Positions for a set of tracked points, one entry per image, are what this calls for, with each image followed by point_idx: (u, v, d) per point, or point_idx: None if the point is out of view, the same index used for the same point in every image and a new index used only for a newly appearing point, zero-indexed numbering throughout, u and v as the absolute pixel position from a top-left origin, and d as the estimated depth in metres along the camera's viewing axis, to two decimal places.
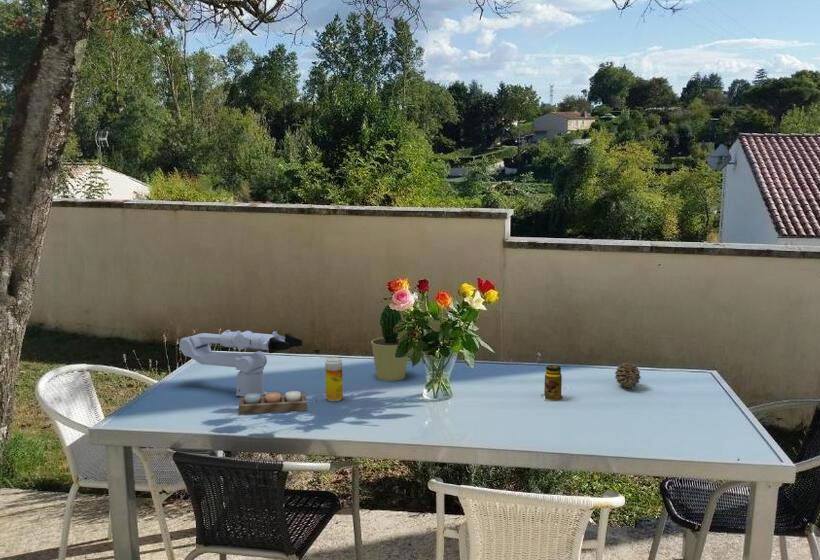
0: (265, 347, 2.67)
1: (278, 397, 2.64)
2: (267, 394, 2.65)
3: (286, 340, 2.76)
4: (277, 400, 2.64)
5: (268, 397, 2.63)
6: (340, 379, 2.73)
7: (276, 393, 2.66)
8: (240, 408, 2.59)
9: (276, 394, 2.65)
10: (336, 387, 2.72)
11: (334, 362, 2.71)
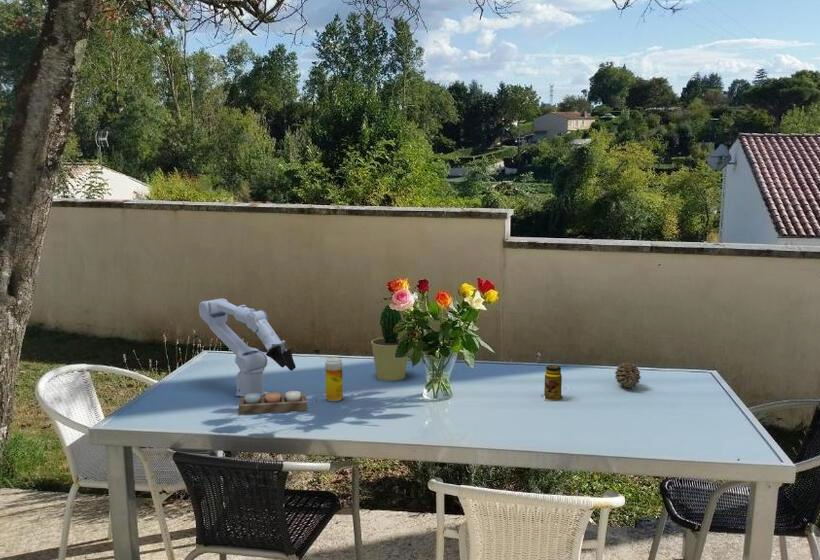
0: (268, 348, 2.63)
1: (278, 397, 2.64)
2: (267, 394, 2.65)
3: (284, 354, 2.73)
4: (277, 400, 2.64)
5: (268, 397, 2.63)
6: (340, 379, 2.73)
7: (276, 393, 2.66)
8: (240, 408, 2.59)
9: (276, 394, 2.65)
10: (336, 387, 2.72)
11: (334, 362, 2.71)
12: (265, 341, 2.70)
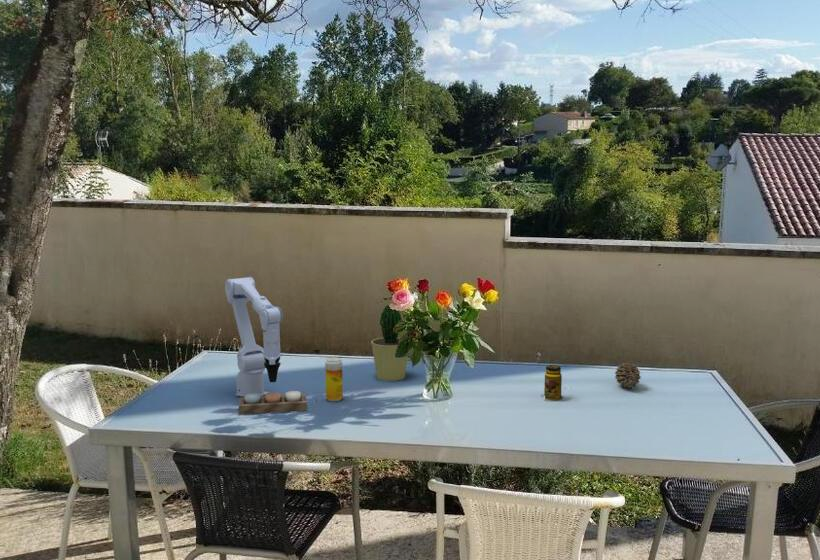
0: (271, 363, 2.60)
1: (278, 397, 2.64)
2: (267, 394, 2.65)
3: None
4: (277, 400, 2.64)
5: (268, 397, 2.63)
6: (340, 379, 2.73)
7: (276, 393, 2.66)
8: (240, 408, 2.59)
9: (276, 394, 2.65)
10: (336, 387, 2.72)
11: (334, 362, 2.71)
12: (268, 347, 2.63)
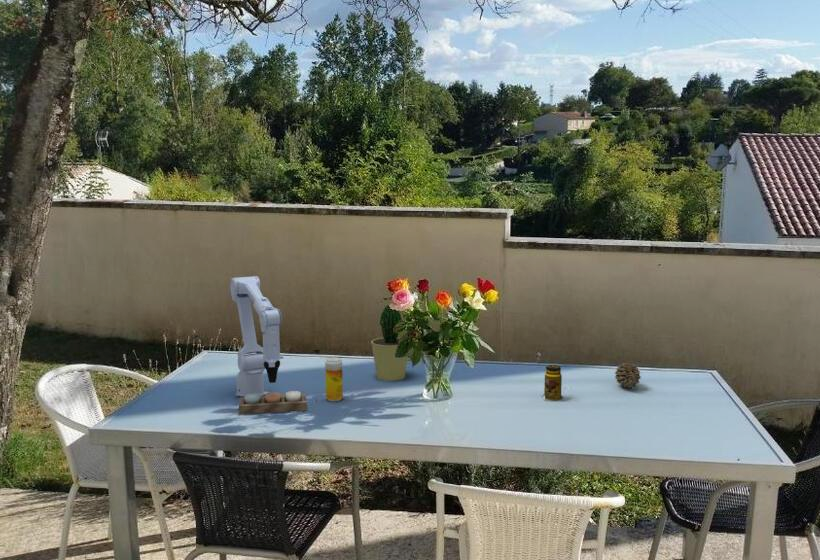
0: (270, 366, 2.56)
1: (278, 397, 2.64)
2: (267, 394, 2.65)
3: None
4: (277, 400, 2.64)
5: (268, 397, 2.63)
6: (340, 379, 2.73)
7: (276, 393, 2.66)
8: (240, 408, 2.59)
9: (276, 394, 2.65)
10: (336, 387, 2.72)
11: (334, 362, 2.71)
12: (268, 349, 2.60)
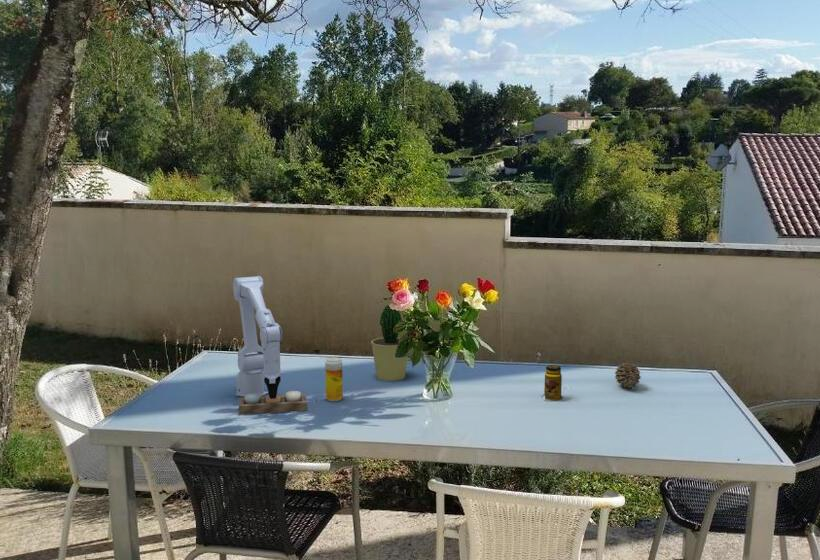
0: (271, 382, 2.57)
1: (278, 401, 2.64)
2: (267, 398, 2.65)
3: None
4: None
5: (268, 401, 2.63)
6: (340, 379, 2.73)
7: (276, 397, 2.66)
8: (240, 408, 2.59)
9: (276, 398, 2.65)
10: (336, 387, 2.72)
11: (334, 362, 2.71)
12: (268, 365, 2.61)
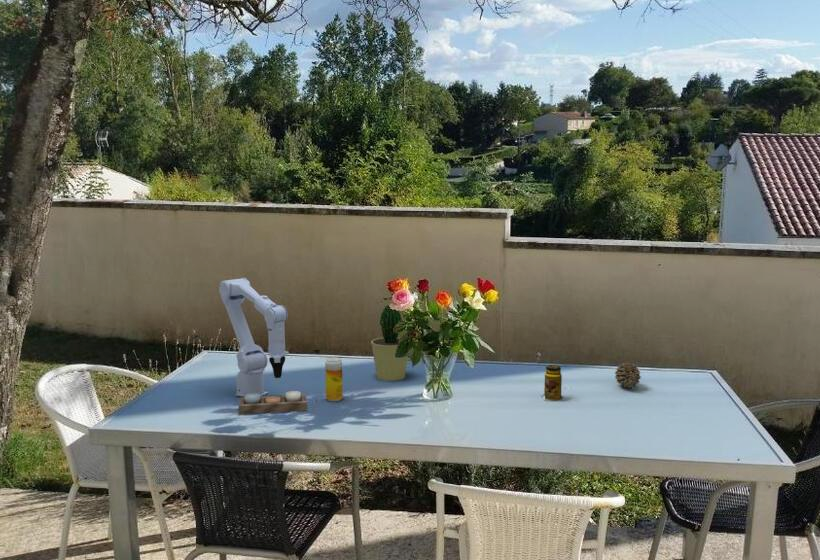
0: (276, 361, 2.62)
1: (278, 401, 2.64)
2: (267, 398, 2.65)
3: None
4: None
5: (268, 401, 2.63)
6: (340, 379, 2.73)
7: (276, 397, 2.66)
8: (240, 408, 2.59)
9: (276, 398, 2.65)
10: (336, 387, 2.72)
11: (334, 362, 2.71)
12: (273, 345, 2.66)
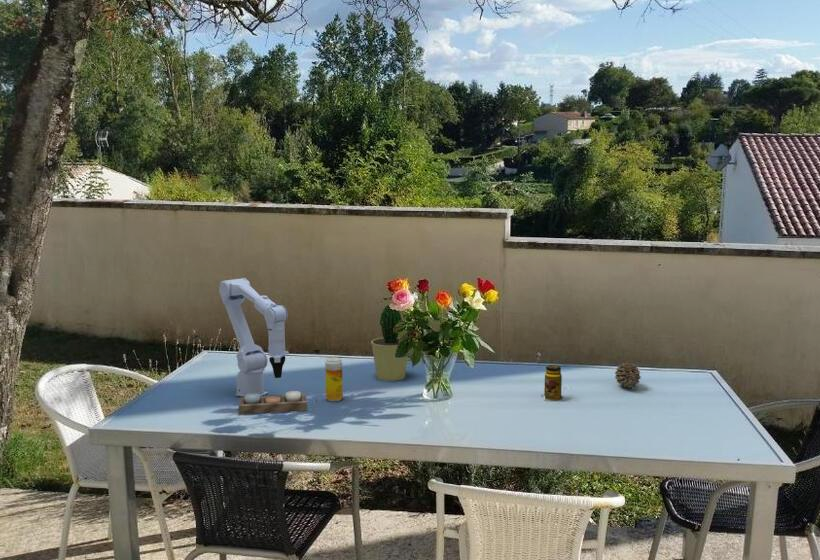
0: (276, 361, 2.62)
1: (278, 401, 2.64)
2: (267, 398, 2.65)
3: None
4: None
5: (268, 401, 2.63)
6: (340, 379, 2.73)
7: (276, 397, 2.66)
8: (240, 408, 2.59)
9: (276, 398, 2.65)
10: (336, 387, 2.72)
11: (334, 362, 2.71)
12: (273, 345, 2.66)
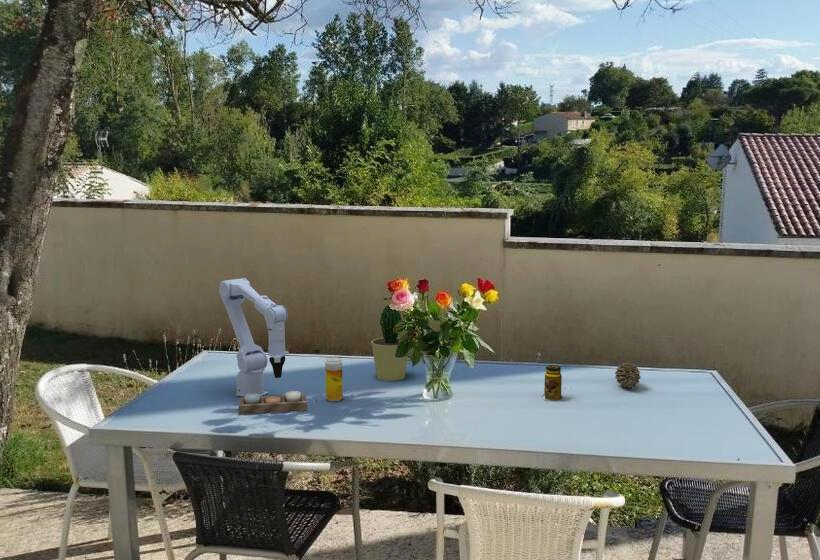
0: (276, 361, 2.62)
1: (278, 401, 2.64)
2: (267, 398, 2.65)
3: None
4: None
5: (268, 401, 2.63)
6: (340, 379, 2.73)
7: (276, 397, 2.66)
8: (240, 408, 2.59)
9: (276, 398, 2.65)
10: (336, 387, 2.72)
11: (334, 362, 2.71)
12: (273, 345, 2.66)
